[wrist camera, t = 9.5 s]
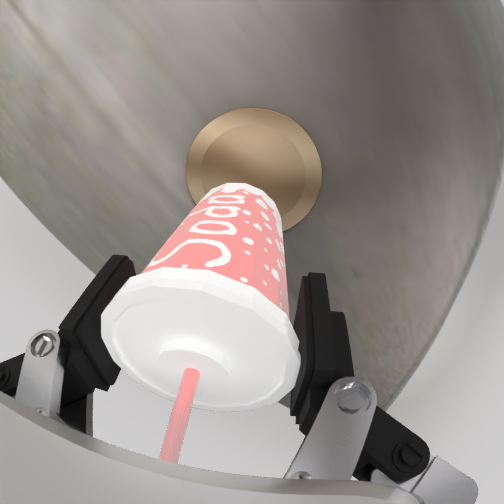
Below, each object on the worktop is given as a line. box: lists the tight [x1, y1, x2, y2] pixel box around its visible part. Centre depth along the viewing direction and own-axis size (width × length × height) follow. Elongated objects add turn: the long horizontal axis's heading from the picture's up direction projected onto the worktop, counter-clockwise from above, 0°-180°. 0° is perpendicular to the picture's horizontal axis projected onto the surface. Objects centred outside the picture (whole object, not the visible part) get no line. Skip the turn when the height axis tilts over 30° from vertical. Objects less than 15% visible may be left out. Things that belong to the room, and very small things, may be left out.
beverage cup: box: [101, 183, 301, 464], centre depth 10 cm, size 6×6×14 cm
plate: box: [186, 108, 322, 232], centre depth 23 cm, size 11×11×1 cm
